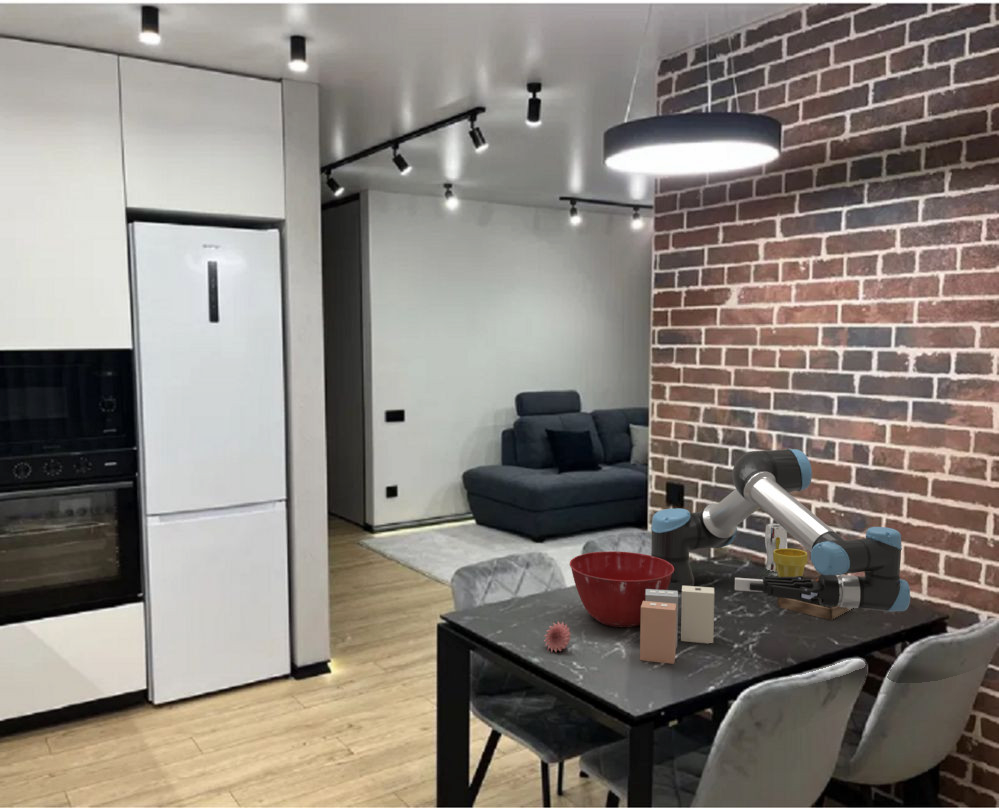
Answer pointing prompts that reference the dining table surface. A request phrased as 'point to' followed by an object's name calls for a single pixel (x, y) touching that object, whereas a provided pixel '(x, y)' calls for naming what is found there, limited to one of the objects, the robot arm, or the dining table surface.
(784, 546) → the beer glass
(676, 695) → the dining table surface
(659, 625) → the terracotta block
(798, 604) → the walnut frame
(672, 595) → the grey block
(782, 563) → the plant pot
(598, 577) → the mixing bowl
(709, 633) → the cream block
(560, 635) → the flower
